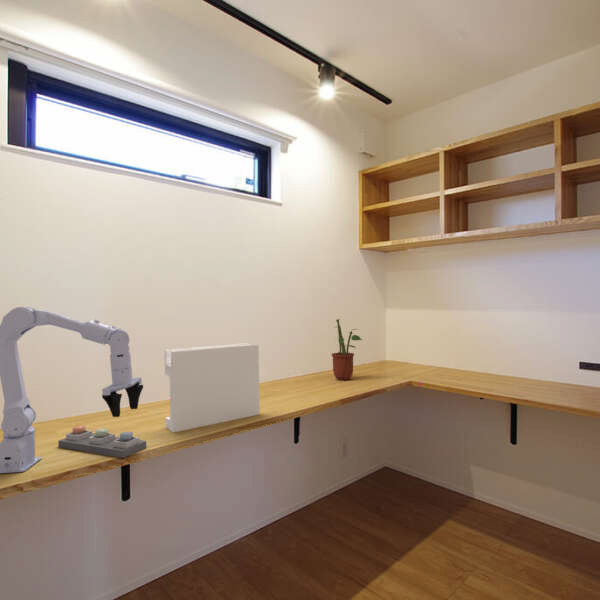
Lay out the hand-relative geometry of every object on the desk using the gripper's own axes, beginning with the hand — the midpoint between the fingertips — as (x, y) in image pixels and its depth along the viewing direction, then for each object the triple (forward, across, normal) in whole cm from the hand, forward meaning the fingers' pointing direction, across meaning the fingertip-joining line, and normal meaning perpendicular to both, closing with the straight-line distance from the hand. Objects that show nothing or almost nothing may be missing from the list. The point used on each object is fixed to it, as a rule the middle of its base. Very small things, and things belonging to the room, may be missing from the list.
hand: (125, 412), depth 121 cm
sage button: (+7, -1, +9) cm, 12 cm away
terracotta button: (+6, 0, +19) cm, 20 cm away
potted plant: (+20, +128, -44) cm, 137 cm away
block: (+14, +34, -10) cm, 38 cm away
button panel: (+11, -1, +9) cm, 14 cm away
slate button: (+8, -2, -1) cm, 8 cm away
